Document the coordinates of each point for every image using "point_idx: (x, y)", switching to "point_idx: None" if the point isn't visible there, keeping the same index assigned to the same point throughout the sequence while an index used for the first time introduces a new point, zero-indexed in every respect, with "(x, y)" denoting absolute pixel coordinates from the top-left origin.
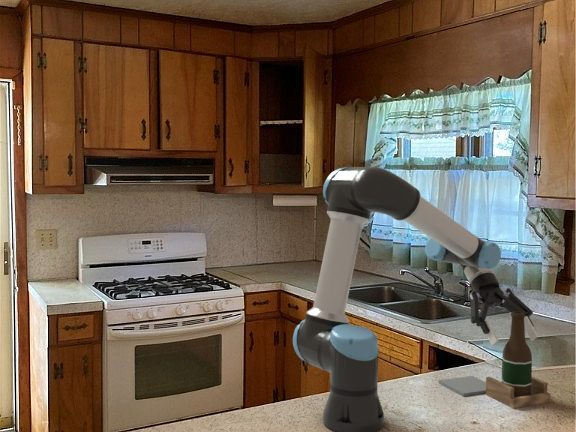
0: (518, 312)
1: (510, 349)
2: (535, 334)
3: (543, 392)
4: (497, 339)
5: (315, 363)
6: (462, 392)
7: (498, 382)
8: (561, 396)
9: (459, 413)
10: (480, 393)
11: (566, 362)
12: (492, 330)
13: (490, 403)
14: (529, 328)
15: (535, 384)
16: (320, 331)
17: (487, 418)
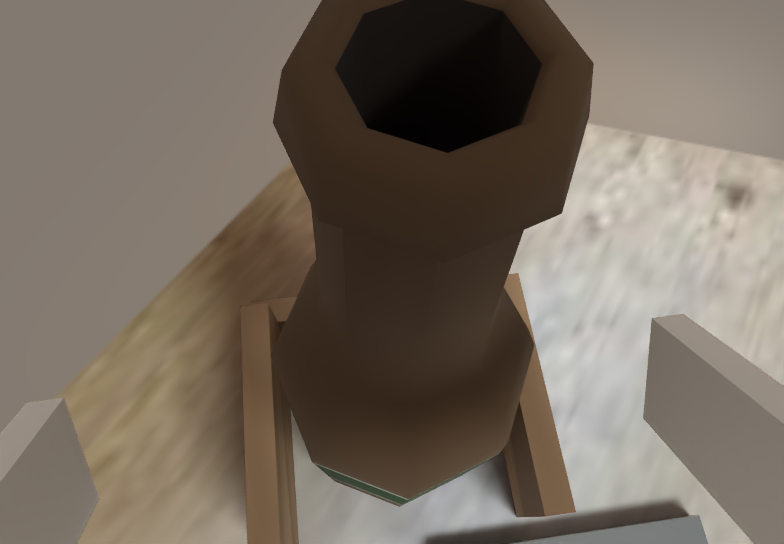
0: (377, 139)
1: (508, 295)
2: (50, 413)
3: (278, 322)
4: (675, 322)
5: None
6: (699, 534)
7: (540, 384)
8: (132, 384)
9: (777, 293)
10: (569, 534)
11: None
12: (774, 393)
13: (574, 376)
14: (6, 537)
15: (276, 380)
16: None
17: (664, 217)
